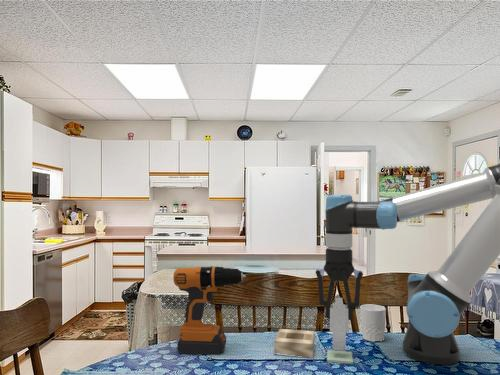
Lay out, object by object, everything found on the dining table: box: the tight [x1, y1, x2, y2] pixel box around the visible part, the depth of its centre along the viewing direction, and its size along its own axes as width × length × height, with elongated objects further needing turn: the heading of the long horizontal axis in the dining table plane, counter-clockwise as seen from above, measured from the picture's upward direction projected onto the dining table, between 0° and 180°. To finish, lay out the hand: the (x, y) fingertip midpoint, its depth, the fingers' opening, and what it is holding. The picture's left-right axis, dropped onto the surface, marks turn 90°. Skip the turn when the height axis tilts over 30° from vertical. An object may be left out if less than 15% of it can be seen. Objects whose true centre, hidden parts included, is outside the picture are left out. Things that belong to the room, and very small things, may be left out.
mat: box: [326, 349, 354, 365], centre depth 108 cm, size 7×7×1 cm
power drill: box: [173, 265, 247, 355], centre depth 114 cm, size 22×7×25 cm, turn 87°
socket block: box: [273, 328, 316, 359], centre depth 115 cm, size 11×11×4 cm
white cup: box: [359, 303, 387, 343], centre depth 124 cm, size 8×8×10 cm
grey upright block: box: [332, 297, 347, 352], centre depth 109 cm, size 4×6×14 cm, turn 168°
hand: (339, 330), depth 109 cm, fingers closed on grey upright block, 4 cm apart
